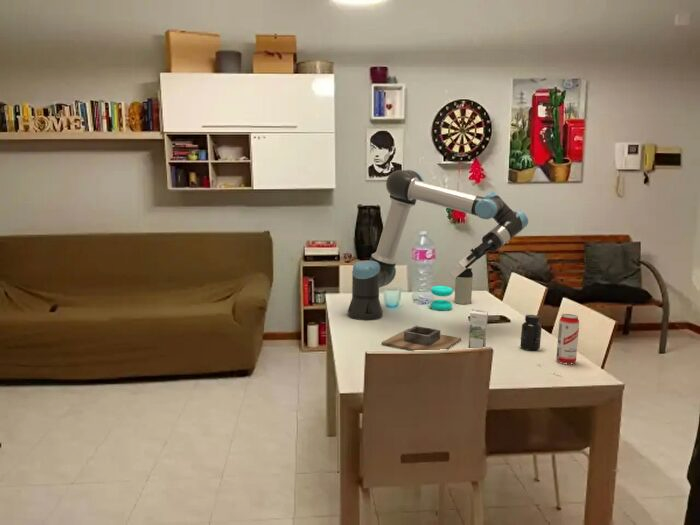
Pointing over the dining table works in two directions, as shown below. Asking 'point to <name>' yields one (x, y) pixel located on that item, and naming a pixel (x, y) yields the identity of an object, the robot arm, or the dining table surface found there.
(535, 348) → the supplement bottle
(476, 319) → the syrup box
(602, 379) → the dining table surface
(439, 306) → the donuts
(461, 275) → the travel mug
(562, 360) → the beer can
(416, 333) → the collar board
